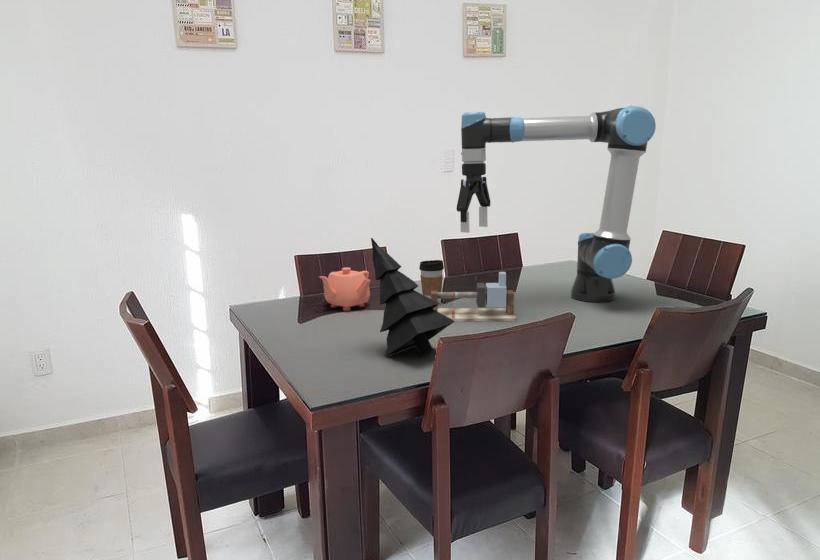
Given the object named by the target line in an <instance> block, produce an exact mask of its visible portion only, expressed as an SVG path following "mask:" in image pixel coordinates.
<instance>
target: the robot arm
mask: <svg viewBox="0 0 820 560" xmlns="http://www.w3.org/2000/svg"><path fill="white" fill-rule="evenodd" d="M656 124H657V123H656V120H655V117H654V116H653V114H652V112H651V111H650V110H649V109H647V108H645V107H643V106H638V105H629V106H626V107H619V108H615V109H611V110H606V111H601V112H599V111H598V112H591V114H590V115H581V116H580V115H579V116H575V115H574V116H549V117H547V116H546V117H545V116H544V117H519V116H518V117H517V116H516V117H515V116H511V117H510V116H508V117H493V118H490V117H489V118H488V117H487V115H486V113H485V112H484V111H468V112H464V113H462V115H461V127H460V129H461V130H460V131H461V132H460V133H461V134H460V135H461V151H460V152H461V153H460V155H461V161H462V162H463V163H462V164H461V175H462V176H465V179H464V178H463V179H461V180H460V189H459V194H458V198H457V203H456V204H457V205H456V211H457V212H459V213H460V216H459V217H460V233H467V234H468V233H470V211H469V208H470V205H471V203H472V198H473V196H474V195H476V199H477V201H478V203H479V205H480V206H478V227H479V228H480V227H481V228H482V227H483V228H484V227H485V228H486V227H487V228H488V207H491V197H490V194H489V188H488V184H487V176H485V175H486V173H487V172H486V171H487V170H486V169H487V165H486V163H485V162H486V160H487V154H486V152H487V151H486V147H487V146H486V144H488V143H489V144H490V143H493V144H494V143H519V142H541V141H542V142H543V141H547V142H548V141H574V140H577V141H578V140H588V141H590V142H591V143H604V144H605V143H606V144H607V152H609V153H610V162H609V167H608V172H607V173H608V174H607V181H606V186H605V192H604V198H603V199H604V200H603V203H602V204H603V205H602V209H601V218H600V222H599V229H598V230H597V231H595V232H587V233H586V232H582V233H580V234H579V236H578V239H577V240H578V241H577V265H576V276H575V278H574V282H573V285H572V287H571V290H570V297H571V298H573V299H574V300H578V301H582V302H589V303H590V302H591V303H604V302H606V303H607V302H610V301H614V300H615V299H616V289H615V285H614V282H613V279H618V278H621V277H623V276H624V275H625V274H627V273H628V271H629V270H630V268H631V266H632V264H633V263H632V262H633V256H632V253H631V251H630V244H631V240H632V239H631V237H630V236H629V234H628V225H629V220H630V215H631V209H632V203H633V198H634V191H635V187H636V181H637V180H636V179H637V175H638V170H639V169H638V168H639V163H640V158H641V157H642V156H643V155H644V154H645V153H647V147H648V142H649V141H650V140H651V139H652V138H653V136H654V134H655V131H656V126H657V125H656Z"/></svg>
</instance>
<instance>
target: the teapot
mask: <svg viewBox="0 0 820 560" xmlns="http://www.w3.org/2000/svg"><path fill="white" fill-rule="evenodd" d="M369 277H370V272H369V271H368V270H362V271H357V270H352V269H351V267H348V266H347V267H342V268H341V270H338V271H331V272H330V273H329V274H328V277H327V276H322V275H320V276H319V278H320V279H321V280H322V282H323V290H324V296H323V297H324V298H325V300H326V301H327V303H328V304H330V307H329V308H334V309H335V308H338V307H342V311H344V312H350V311H351V310H352V309H351V307H355V306H357V307H358V308H362V307H366V305H365V304H366V303H368V302H369V300H370V297H371V291H370V283H371V279H369Z"/></svg>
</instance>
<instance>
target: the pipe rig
mask: <svg viewBox="0 0 820 560" xmlns="http://www.w3.org/2000/svg"><path fill="white" fill-rule="evenodd" d="M438 298H441V299H476V298H477V291H459V292H458V291H441V292H437V291H431V299H432V300H434V301H436V302H438ZM485 298H487V292H485ZM438 307H439V305H437V306H436V307H434V308H433V309H434V310H436V311H437V312H439V313H441V314H443V315H445V316H446V317H448V318H450V319H452V320H453V321H455V322H456V323H458V322H460V323H462V322H463V323H465V322H470V323H472V322H473V323H475V322H474V321H484V322H486V321H487V322H486V323H490V322H491V323H493V322H505V323H506V322H517V321H518V320H517V319H518V318H517V315H516V314H515V292H514V290H513V289H511V290H509V289H506V307H477V308H476V307H475V308H473V307H468V308H466V307H465V308H463V307H461V308H458V307H457V308H449V307H448V308H447V307H446V308H445V307H443V308H441V307H440V308H438ZM455 322H454V323H455ZM484 322H483V323H484Z"/></svg>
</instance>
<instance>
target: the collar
mask: <svg viewBox="0 0 820 560" xmlns="http://www.w3.org/2000/svg"><path fill="white" fill-rule="evenodd" d="M476 292H477V298H475V299H476V300H475V301H476V306H477V308H486V302H485V292H486V283H485V282H477V283H476Z"/></svg>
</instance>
